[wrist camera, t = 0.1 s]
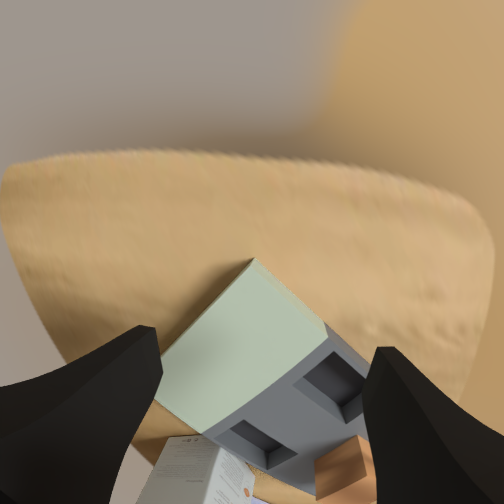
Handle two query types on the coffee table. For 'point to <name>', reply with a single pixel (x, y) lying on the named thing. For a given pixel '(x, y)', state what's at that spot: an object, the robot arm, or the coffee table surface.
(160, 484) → the small box
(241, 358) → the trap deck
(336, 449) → the orange block
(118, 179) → the coffee table surface
